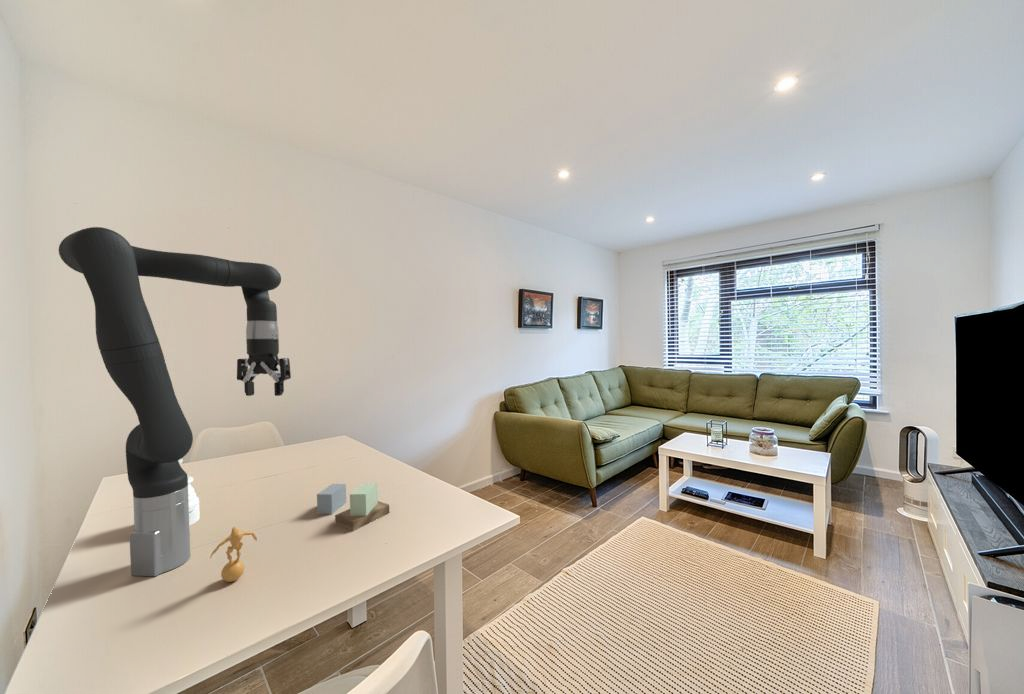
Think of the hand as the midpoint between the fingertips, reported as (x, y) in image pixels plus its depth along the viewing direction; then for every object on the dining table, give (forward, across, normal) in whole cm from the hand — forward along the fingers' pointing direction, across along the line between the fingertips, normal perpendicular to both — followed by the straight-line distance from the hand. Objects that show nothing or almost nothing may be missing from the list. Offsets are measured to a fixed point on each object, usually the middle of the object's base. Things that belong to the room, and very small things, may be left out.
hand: (264, 395), depth 105 cm
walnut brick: (+37, +26, +4) cm, 45 cm away
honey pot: (+36, -28, -2) cm, 46 cm away
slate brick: (+36, +13, +10) cm, 40 cm away
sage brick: (+34, +26, +4) cm, 43 cm away
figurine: (+36, +12, -25) cm, 46 cm away
